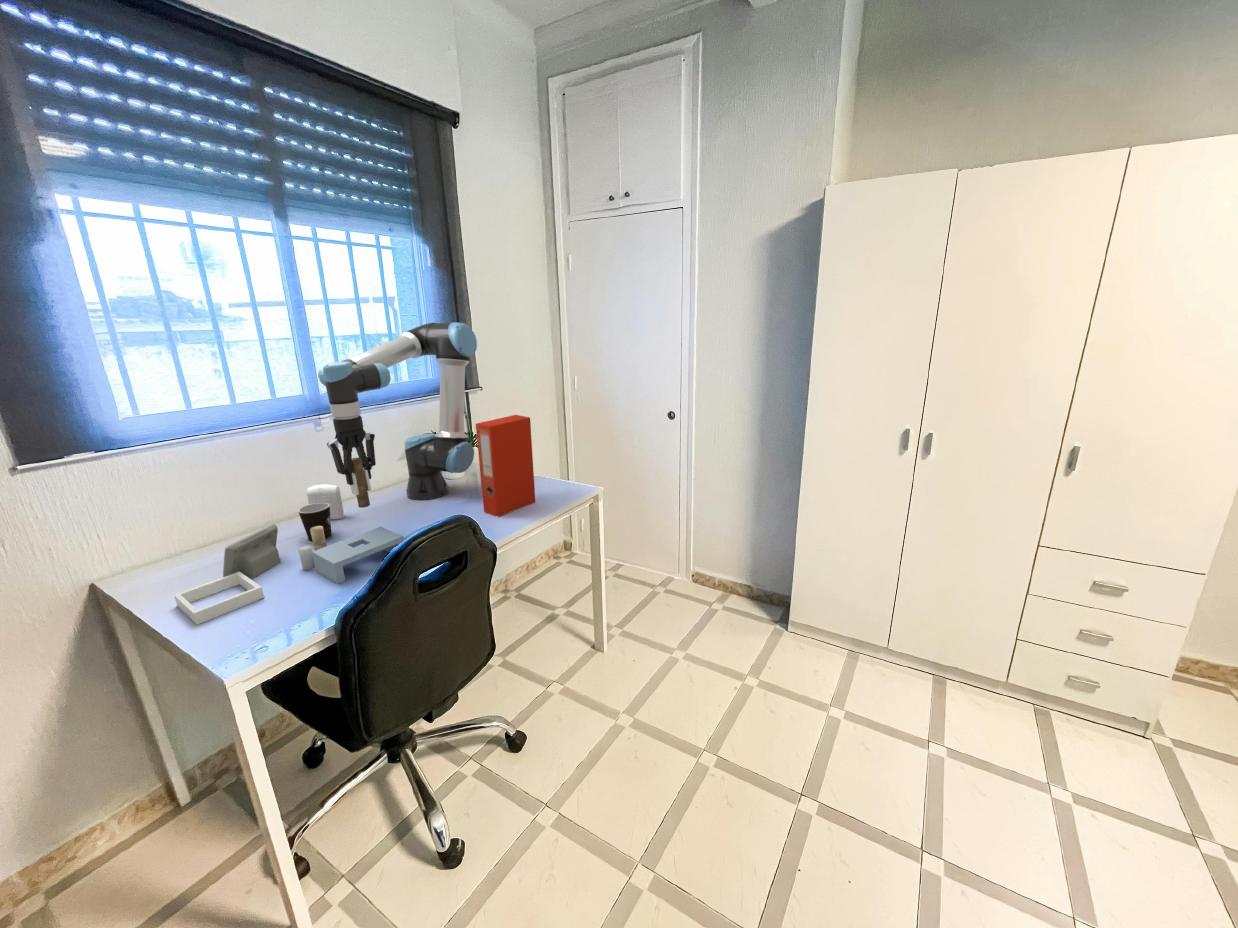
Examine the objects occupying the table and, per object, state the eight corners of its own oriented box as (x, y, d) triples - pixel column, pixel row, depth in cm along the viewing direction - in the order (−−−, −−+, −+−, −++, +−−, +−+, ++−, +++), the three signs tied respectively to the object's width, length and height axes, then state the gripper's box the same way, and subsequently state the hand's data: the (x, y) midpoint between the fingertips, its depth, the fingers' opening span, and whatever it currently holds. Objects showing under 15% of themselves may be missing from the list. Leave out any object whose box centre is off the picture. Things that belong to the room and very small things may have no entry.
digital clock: (273, 553, 154) (265, 520, 151) (294, 558, 151) (287, 525, 147) (215, 579, 140) (205, 544, 136) (237, 586, 136) (227, 549, 133)
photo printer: (346, 515, 182) (340, 481, 178) (341, 519, 178) (335, 486, 174) (315, 517, 180) (308, 483, 177) (310, 521, 176) (302, 487, 173)
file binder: (536, 502, 190) (530, 417, 180) (498, 517, 177) (490, 426, 168) (521, 497, 195) (514, 414, 185) (484, 512, 182) (474, 423, 172)
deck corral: (242, 581, 138) (239, 571, 137) (264, 597, 130) (261, 586, 130) (177, 605, 128) (173, 594, 127) (197, 624, 120) (193, 613, 119)
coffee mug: (321, 543, 160) (315, 513, 157) (298, 541, 161) (291, 512, 158) (347, 528, 170) (342, 500, 168) (325, 526, 172) (319, 498, 169)
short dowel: (312, 563, 147) (308, 544, 146) (317, 566, 146) (313, 547, 144) (300, 568, 145) (296, 548, 143) (305, 571, 143) (301, 551, 141)
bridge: (383, 544, 158) (380, 526, 157) (406, 554, 152) (403, 536, 150) (316, 571, 143) (311, 551, 141) (337, 583, 136) (333, 563, 134)
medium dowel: (325, 552, 154) (319, 524, 151) (330, 555, 152) (324, 527, 149) (314, 556, 151) (308, 528, 149) (319, 559, 150) (313, 531, 147)
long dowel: (366, 502, 160) (357, 456, 156) (372, 504, 159) (363, 458, 154) (356, 506, 158) (347, 459, 153) (362, 508, 156) (352, 461, 151)
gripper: (366, 409, 158) (379, 481, 165) (311, 420, 145) (328, 497, 153) (380, 412, 154) (393, 486, 161) (324, 423, 141) (341, 503, 149)
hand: (361, 491), depth 157 cm, fingers closed on long dowel, 3 cm apart
